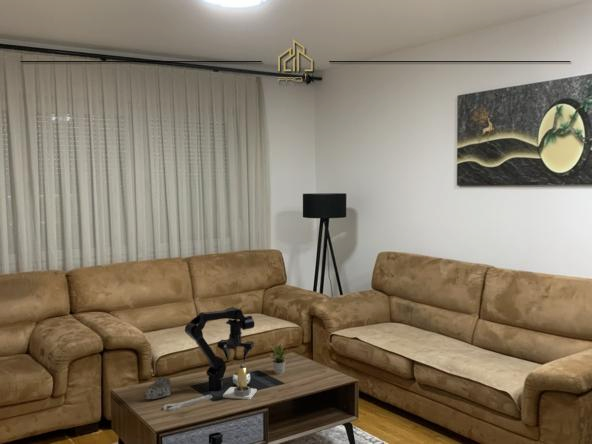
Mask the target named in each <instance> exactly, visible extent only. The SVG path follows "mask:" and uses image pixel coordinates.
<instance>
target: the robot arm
mask: <svg viewBox="0 0 592 444" xmlns="http://www.w3.org/2000/svg"><path fill="white" fill-rule="evenodd" d="M224 319H227V321H226V322H225V323H226V325H229V333H228V334H229V336H228V339H220V340H219V341H218V342H217V348H218V349H220V350H222V351H223V353H224V355H225V357H226V361H229V360H230V359H229V358H230V353H229V351H230V350H236V349H237V347H238V348H240V347H243V362H245V361H246V359H247V356H248V355H249V354H248V353H249V351H250V350H253V348H254V347H255V342H254V341H252V340H249V341H248V340H247V341H246V342H243V340H242V334H243V332H242V331H246V330H250V329H254V327H255V321H254V319H253V316H252V315H247V316H245V315H244V314H243V310H242V309H241V308H237V307H234V306H231V307H227V308H226V309H224V310H215V311H214V310H213V311H205V312H204V311H202V312H199V313H198V314H197V315H196V316H195V317H194V318H192V319H191V320H190V321H189V323H187V324H186V325H185V328H184V332H185V334H186V335H188V337H190V339H192V340H193V341H195V343H196V345H197V346H198V347H199V349H200V350H201V352H202V354H203V355H204V357H205V358H206V359H207V361H208V369H207V370H206V375H207V378H208V387H207V391H217V392H219V391H221V390H222V389H223V387H224V377H225V373H226V371H227V366H226V365H227V363H226V362H225V361H224V359H223V358H222V357H220V356H218V355H216V354H215V352H214V351H213V349H212V348H211V347H210V345H209V344H208V341H206V339H205V338H204V334H203V329H204V328H205V326H206V324H207V322H208V321H214V320H224Z"/></svg>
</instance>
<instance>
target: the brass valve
mask: <svg viewBox="0 0 592 444" xmlns="http://www.w3.org/2000/svg"><path fill="white" fill-rule="evenodd" d="M236 371H237V387H238V391H246V390H247V386H248V384H247V366H244V364H240V365H239V366H238V367H237V370H236Z"/></svg>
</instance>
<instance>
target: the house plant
mask: <svg viewBox="0 0 592 444" xmlns="http://www.w3.org/2000/svg"><path fill="white" fill-rule="evenodd" d="M268 346H269V347H271V349H269V351H271V352H269V355H268V357H271V358H270V360H272V365H273V371H274V373H275V374H276V375H278V374H279V375H282V374H284V373H285V368H286V361H287V360H285V359H286V358H285V356H286V355H288V354H289V352H286V351H287V350H289V349H288V348H289V347H288V348H286V349H285V350H284V348H285V346H284V344H282V343H280V342H277V345H276V346H275V348H274V347H273V346H272V345H269V344H268ZM272 353H273V354H272Z"/></svg>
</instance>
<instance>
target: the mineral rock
mask: <svg viewBox="0 0 592 444" xmlns="http://www.w3.org/2000/svg"><path fill="white" fill-rule="evenodd" d="M144 393H145V399H146V400H156V399H160V398H163V397H168V396H170V395H172V387H171V379H170V377H169V376H164V377H163V376H159V377H157V379H156V380H155V381H154V382H152V384H151V385H150V386H149V387H148V388H147V389H146V390H145V392H144Z"/></svg>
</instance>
